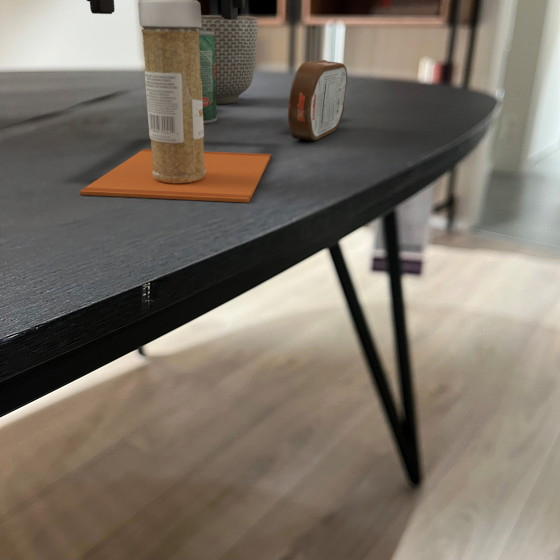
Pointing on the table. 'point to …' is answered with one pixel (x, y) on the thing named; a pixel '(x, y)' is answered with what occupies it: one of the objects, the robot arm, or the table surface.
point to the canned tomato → (208, 76)
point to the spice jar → (174, 88)
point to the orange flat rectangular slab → (213, 187)
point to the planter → (232, 54)
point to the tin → (316, 99)
